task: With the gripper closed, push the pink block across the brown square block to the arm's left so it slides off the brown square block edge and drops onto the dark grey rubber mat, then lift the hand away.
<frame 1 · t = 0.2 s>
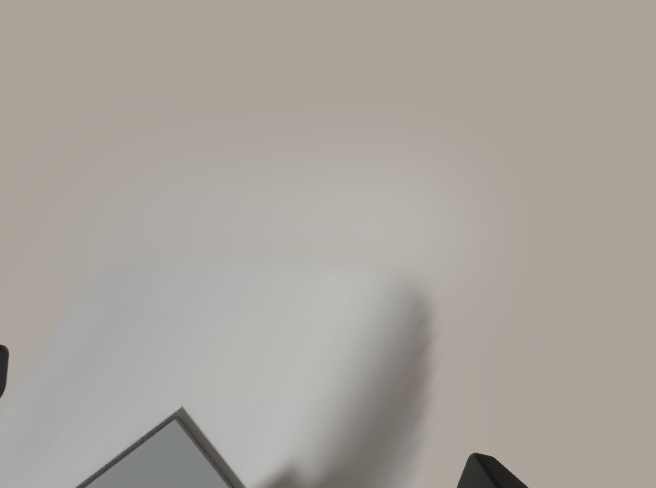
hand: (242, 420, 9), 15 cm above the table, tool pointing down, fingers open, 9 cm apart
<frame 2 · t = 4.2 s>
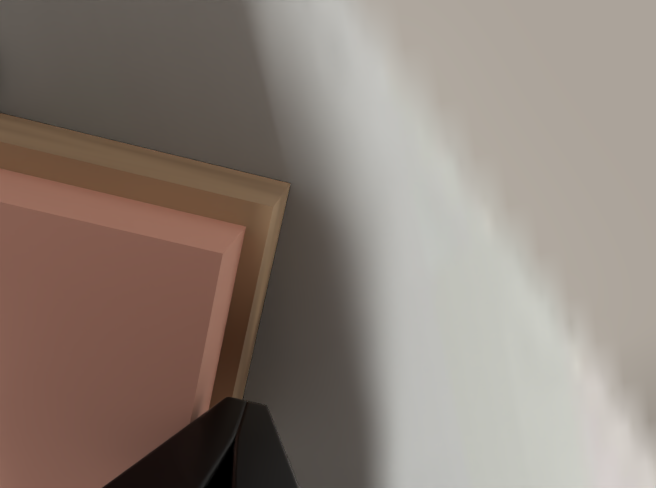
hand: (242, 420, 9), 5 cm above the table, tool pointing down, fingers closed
pink block: (83, 355, 9), point 4 cm above the table, touching brown square block, gripper
brown square block: (127, 283, 13), on the table
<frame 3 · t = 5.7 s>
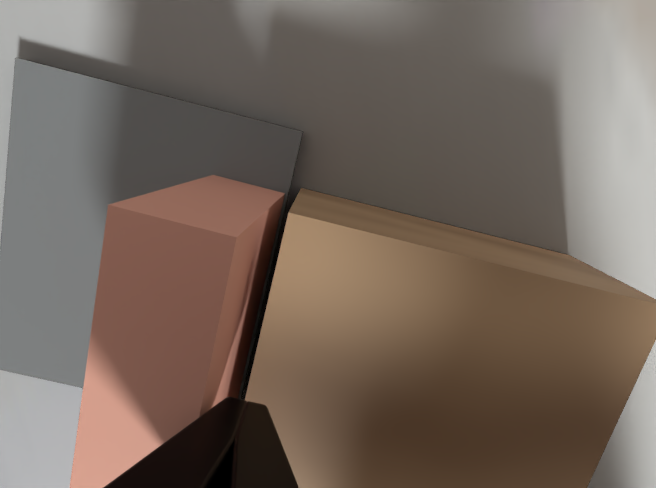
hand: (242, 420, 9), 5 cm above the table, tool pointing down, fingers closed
pink block: (235, 355, 10), point 3 cm above the table, tilted 92°, touching gripper, mat
brown square block: (398, 346, 14), on the table
mat: (141, 253, 13), on the table
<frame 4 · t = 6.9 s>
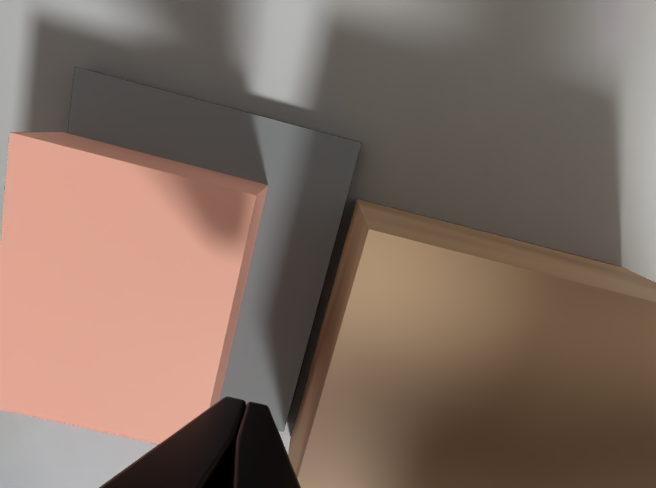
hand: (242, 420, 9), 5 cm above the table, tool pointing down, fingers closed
pink block: (113, 307, 11), point 2 cm above the table, tilted 180°, touching mat
brown square block: (448, 357, 14), on the table
mat: (194, 263, 13), on the table
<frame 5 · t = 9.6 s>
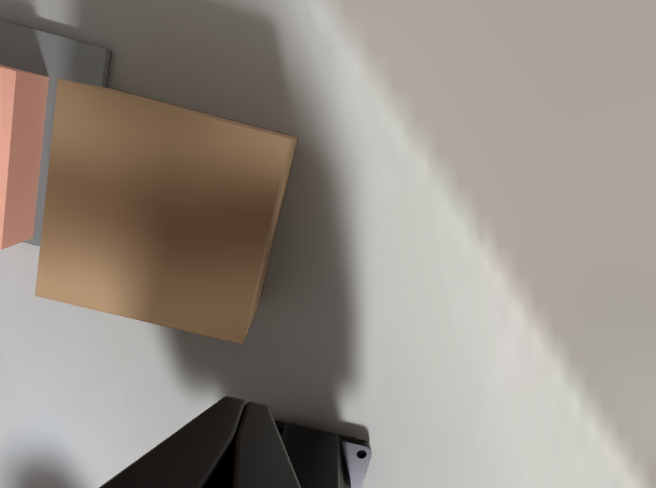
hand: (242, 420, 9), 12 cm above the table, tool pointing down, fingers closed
brown square block: (190, 203, 20), on the table
mat: (10, 135, 19), on the table
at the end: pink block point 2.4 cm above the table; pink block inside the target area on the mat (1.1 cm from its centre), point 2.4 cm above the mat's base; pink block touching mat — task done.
